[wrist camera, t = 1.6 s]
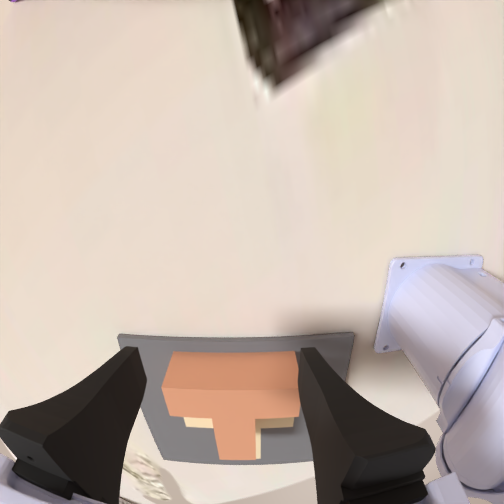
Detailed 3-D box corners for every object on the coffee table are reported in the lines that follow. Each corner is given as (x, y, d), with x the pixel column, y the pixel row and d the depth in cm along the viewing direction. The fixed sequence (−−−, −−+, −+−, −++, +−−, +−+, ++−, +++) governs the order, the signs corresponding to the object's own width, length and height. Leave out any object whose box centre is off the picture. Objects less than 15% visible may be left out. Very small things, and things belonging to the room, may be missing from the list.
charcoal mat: (352, 332, 21) (354, 335, 21) (322, 456, 27) (322, 459, 26) (119, 333, 21) (116, 337, 21) (164, 456, 27) (163, 459, 26)
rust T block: (294, 350, 21) (302, 387, 17) (287, 424, 24) (292, 458, 20) (173, 351, 21) (161, 387, 17) (190, 424, 24) (184, 457, 20)
